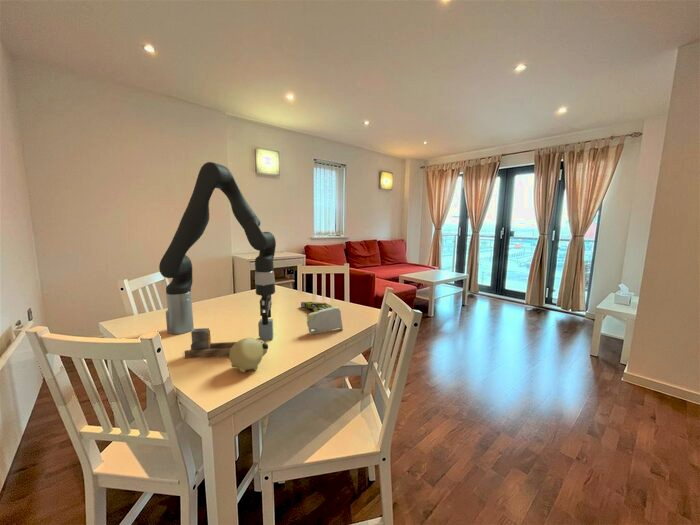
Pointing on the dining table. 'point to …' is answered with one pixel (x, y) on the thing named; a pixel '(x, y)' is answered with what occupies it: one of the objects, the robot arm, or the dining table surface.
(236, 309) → the dining table surface
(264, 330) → the grey rectangular block
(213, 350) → the rail
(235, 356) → the toy pig
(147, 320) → the dining table surface
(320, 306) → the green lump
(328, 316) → the grey rectangular slab
